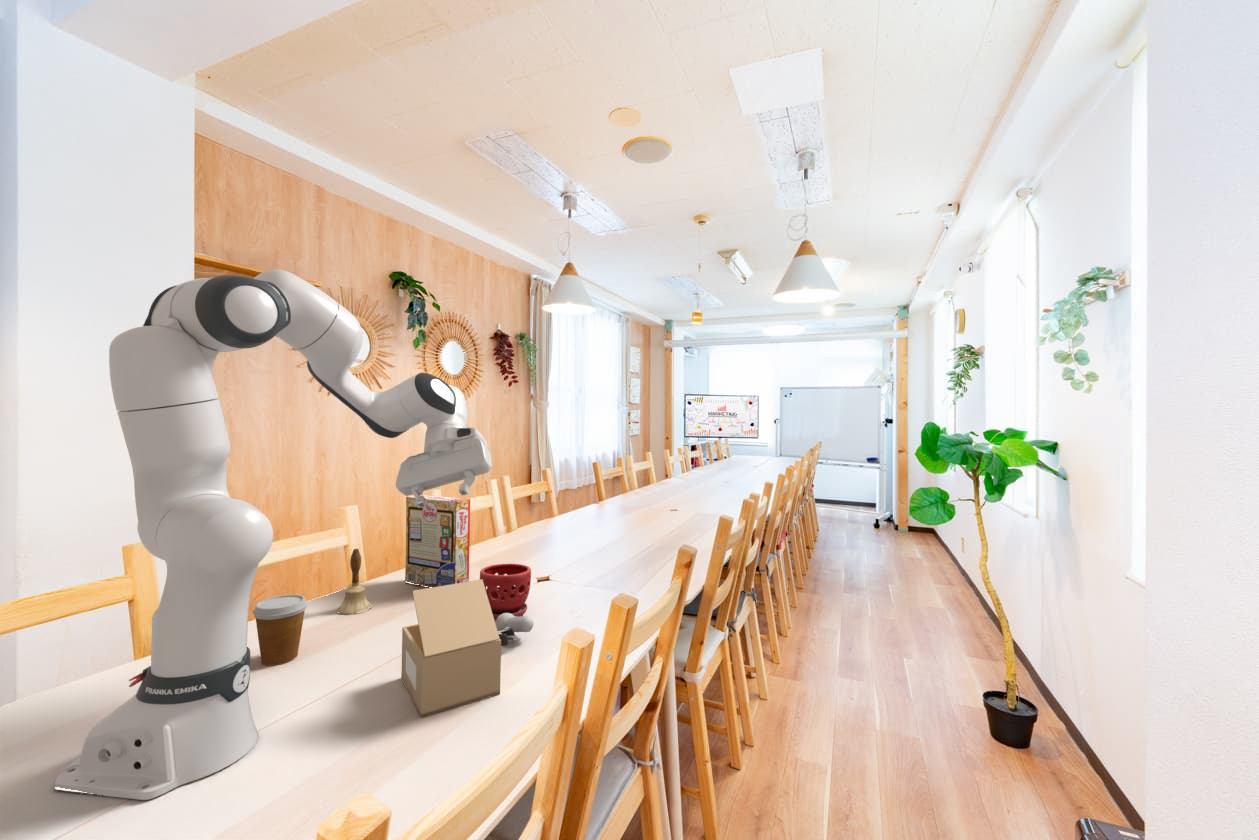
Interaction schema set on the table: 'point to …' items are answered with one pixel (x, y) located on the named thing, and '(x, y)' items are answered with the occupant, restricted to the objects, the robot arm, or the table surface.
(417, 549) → the board game box
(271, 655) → the disposable coffee cup
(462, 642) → the carton flap
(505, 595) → the plant pot
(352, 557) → the hand bell
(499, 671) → the carton
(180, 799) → the table surface
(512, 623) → the clip-on lamp
